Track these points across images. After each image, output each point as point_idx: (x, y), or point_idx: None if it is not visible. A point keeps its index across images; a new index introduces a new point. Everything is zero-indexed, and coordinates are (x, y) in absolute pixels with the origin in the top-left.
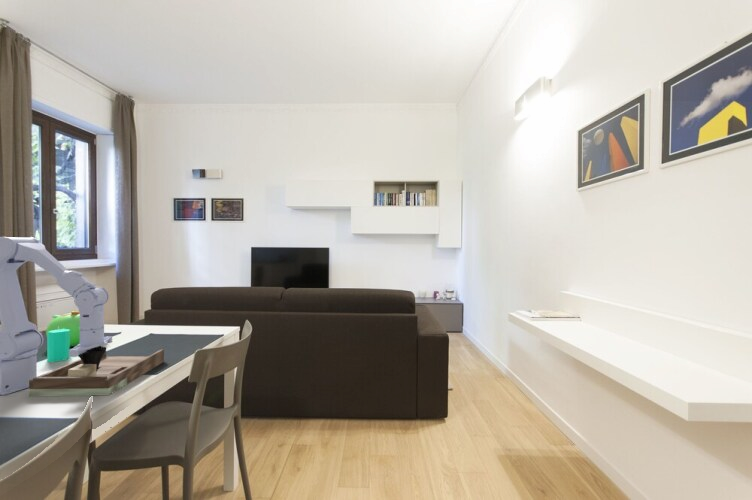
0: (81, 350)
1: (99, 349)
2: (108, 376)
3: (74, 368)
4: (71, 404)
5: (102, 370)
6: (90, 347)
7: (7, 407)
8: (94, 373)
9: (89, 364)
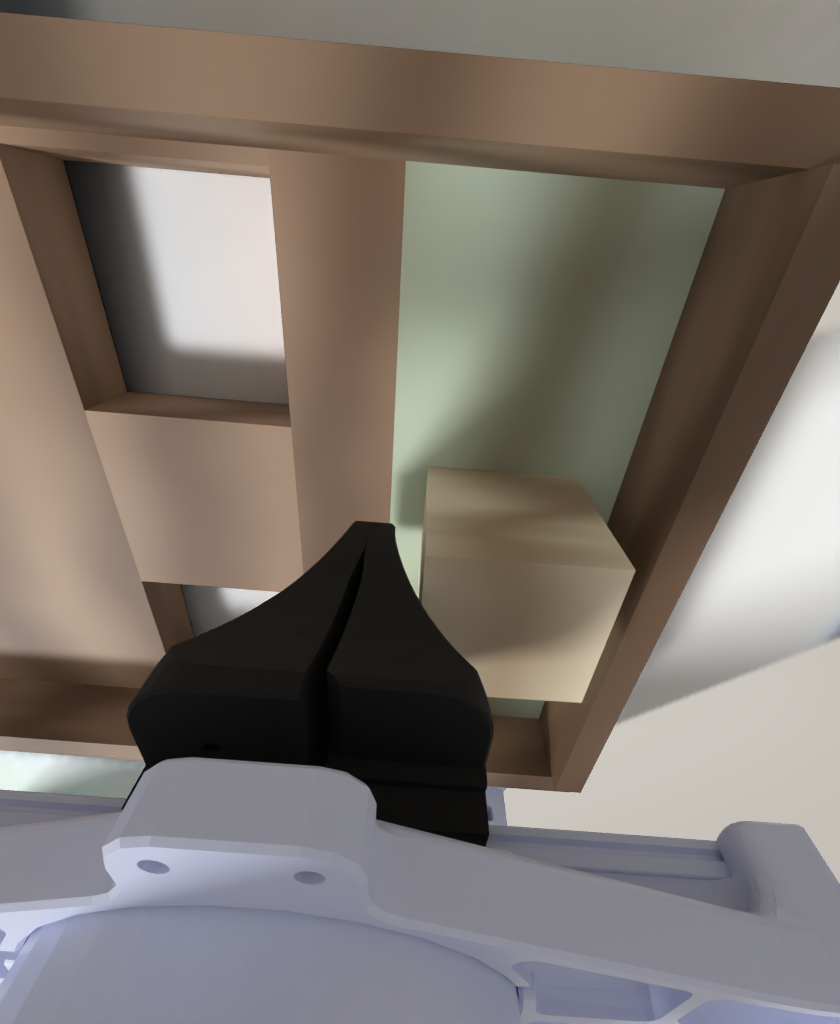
0: (755, 925)
1: (303, 730)
2: (362, 391)
3: (555, 675)
4: (814, 400)
5: (210, 536)
6: (591, 906)
7: (677, 698)
8: (455, 499)
9: (436, 615)
